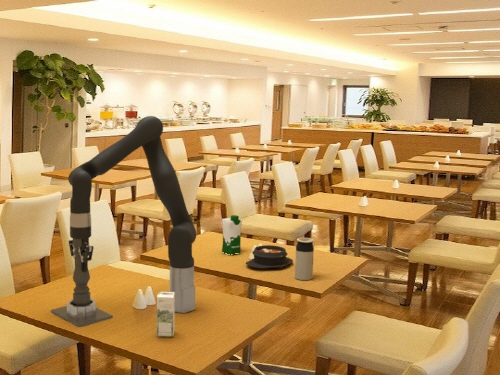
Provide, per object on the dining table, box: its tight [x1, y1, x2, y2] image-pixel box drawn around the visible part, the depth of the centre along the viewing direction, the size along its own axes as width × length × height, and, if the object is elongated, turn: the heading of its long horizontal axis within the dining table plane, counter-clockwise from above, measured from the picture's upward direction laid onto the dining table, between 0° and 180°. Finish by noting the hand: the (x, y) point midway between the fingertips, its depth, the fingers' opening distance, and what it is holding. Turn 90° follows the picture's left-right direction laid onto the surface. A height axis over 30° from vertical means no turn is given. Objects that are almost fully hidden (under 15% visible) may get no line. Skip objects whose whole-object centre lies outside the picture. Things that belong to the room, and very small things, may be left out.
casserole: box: [245, 244, 294, 269], centre depth 306 cm, size 25×19×8 cm
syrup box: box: [156, 291, 176, 338], centre depth 218 cm, size 6×6×14 cm
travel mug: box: [294, 237, 315, 281], centre depth 287 cm, size 8×8×18 cm
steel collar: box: [50, 297, 114, 328], centre depth 235 cm, size 20×14×5 cm
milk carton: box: [221, 215, 243, 255], centre depth 326 cm, size 9×9×20 cm
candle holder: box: [72, 237, 91, 305], centre depth 233 cm, size 6×6×25 cm
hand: (81, 269), depth 233 cm, fingers closed on candle holder, 4 cm apart
